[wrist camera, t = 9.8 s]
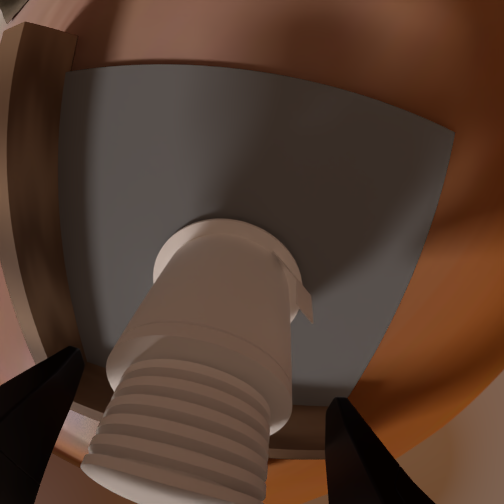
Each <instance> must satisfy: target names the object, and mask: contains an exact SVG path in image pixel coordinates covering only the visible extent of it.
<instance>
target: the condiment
mask: <svg viewBox="0 0 504 504" xmlns="http://www.w3.org/2000/svg"><path fill="white" fill-rule="evenodd" d="M27 1H28V0H0V9H1V10H2V13H3V16H4V19H5V21H6V23H7V24H8V23H9V21H10V20H11V19H12V18H13V16H14V15H15V14H16V13H17V12H18V11H19V10H20V9H21V7H22V6H23V5H24V4H25V3H26V2H27Z"/></svg>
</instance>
